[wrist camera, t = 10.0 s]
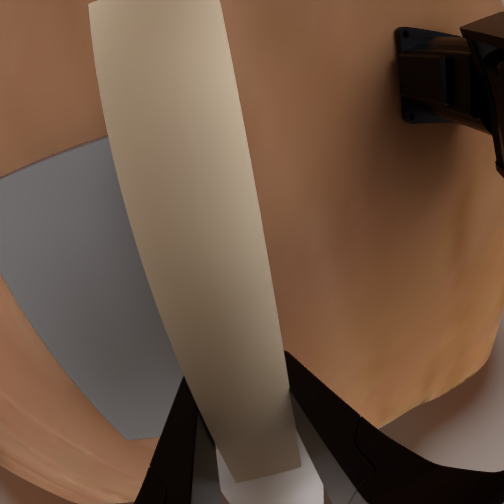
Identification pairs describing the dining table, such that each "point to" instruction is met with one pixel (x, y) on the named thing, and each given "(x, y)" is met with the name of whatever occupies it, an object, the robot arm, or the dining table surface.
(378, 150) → the dining table surface
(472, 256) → the dining table surface
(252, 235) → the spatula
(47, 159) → the charcoal board
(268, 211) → the dining table surface
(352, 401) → the dining table surface
